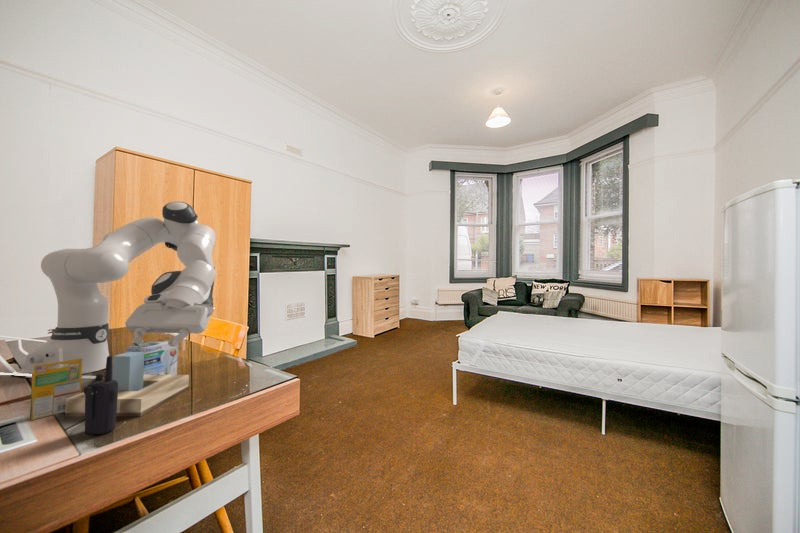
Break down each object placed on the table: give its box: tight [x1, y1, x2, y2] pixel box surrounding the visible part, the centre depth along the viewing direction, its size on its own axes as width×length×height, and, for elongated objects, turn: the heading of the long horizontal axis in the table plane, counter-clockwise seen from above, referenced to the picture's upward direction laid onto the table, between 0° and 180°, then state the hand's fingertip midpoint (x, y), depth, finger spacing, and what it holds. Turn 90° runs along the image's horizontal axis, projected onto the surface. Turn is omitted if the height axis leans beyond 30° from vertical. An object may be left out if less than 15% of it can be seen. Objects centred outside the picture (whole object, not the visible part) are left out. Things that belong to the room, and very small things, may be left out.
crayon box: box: [29, 358, 83, 421], centre depth 67 cm, size 7×3×12 cm, turn 145°
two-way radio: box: [82, 355, 118, 435], centre depth 59 cm, size 6×4×15 cm
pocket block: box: [64, 374, 190, 418], centre depth 74 cm, size 16×16×4 cm
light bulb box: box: [125, 339, 179, 375], centre depth 89 cm, size 11×7×11 cm, turn 168°
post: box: [112, 351, 145, 391], centre depth 73 cm, size 4×4×11 cm
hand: (153, 345), depth 78 cm, fingers open, 8 cm apart
